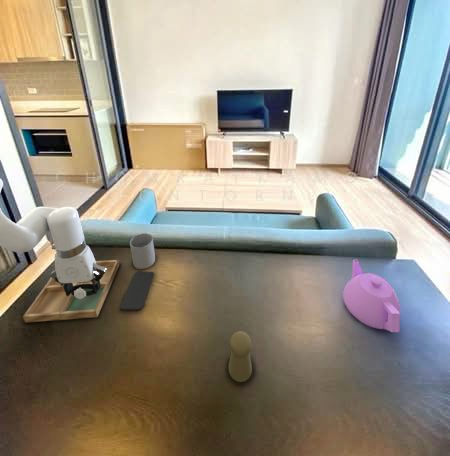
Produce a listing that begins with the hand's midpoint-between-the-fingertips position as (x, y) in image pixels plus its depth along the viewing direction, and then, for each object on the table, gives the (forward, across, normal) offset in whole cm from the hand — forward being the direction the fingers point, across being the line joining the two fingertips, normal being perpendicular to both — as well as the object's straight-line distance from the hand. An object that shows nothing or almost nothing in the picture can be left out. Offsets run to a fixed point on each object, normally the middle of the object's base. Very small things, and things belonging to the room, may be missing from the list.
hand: (83, 290), depth 80 cm
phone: (+5, +16, +3) cm, 17 cm away
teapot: (+5, +91, -10) cm, 92 cm away
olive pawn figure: (+5, +48, -23) cm, 53 cm away
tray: (+5, -5, +5) cm, 9 cm away
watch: (+1, 0, 0) cm, 1 cm away
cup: (+5, +15, +17) cm, 23 cm away
